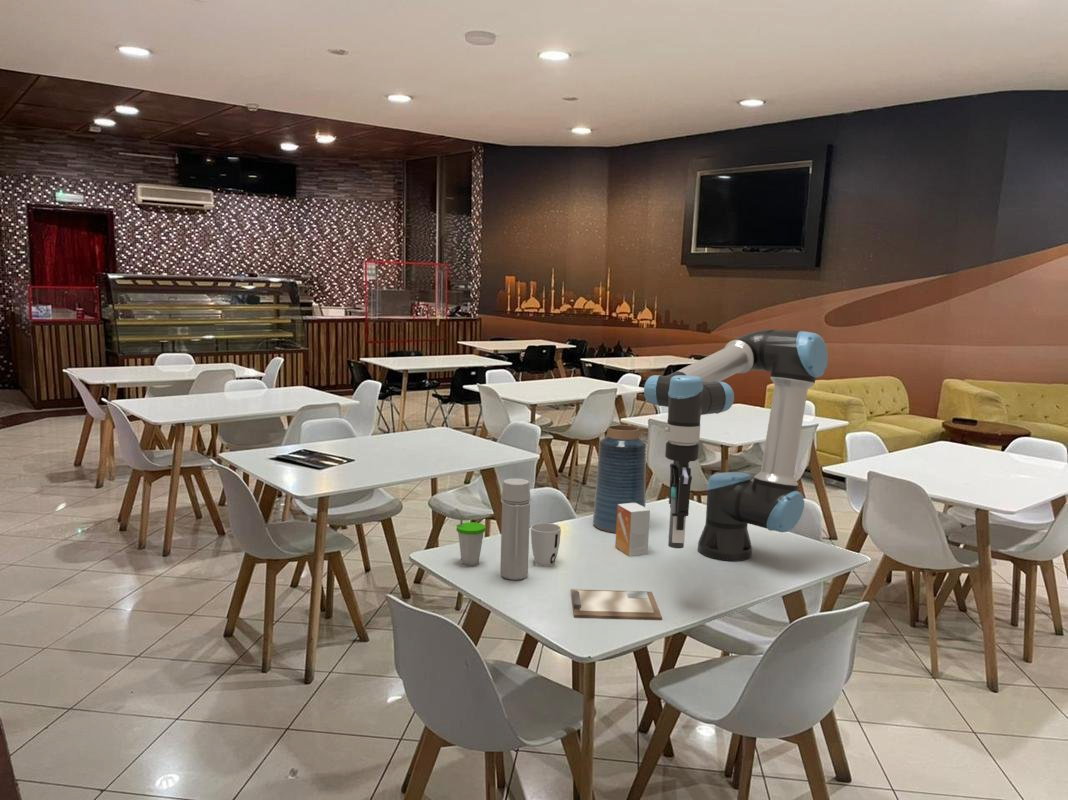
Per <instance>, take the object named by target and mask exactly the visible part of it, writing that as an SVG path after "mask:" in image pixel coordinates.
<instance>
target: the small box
mask: <svg viewBox="0 0 1068 800" xmlns="http://www.w3.org/2000/svg"><path fill="white" fill-rule="evenodd" d="M650 512H651V510H650V509H648V508H647V507H646V506H645V507H643V506H641V505H639V504H637V503H625V504H618V505H617V524H616V533H615V543H614V544H615V548H616V549H618V550H620V551H621V552H623V553H624V554H625V555H627V556H628V557H634V556H643V555H648V554H649V535H650V534H649V533H650V515H651V513H650Z"/></svg>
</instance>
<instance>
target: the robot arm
mask: <svg viewBox="0 0 1068 800" xmlns="http://www.w3.org/2000/svg"><path fill="white" fill-rule="evenodd" d="M828 353H829V352H828V348H827V345H826V342H825V340H824V338H823V337H822V336H821V335H819V334H818V333H815V332H810V331H805V330H804V331H802V330H785V329H784V330H783V329H781V330H779V329H778V330H777V329H770V328H769V329H761V330H757V331H753V332H750V333H747V334H743V335H742V336H738V337H736V338H734V339H732V340H730V341H729V342H727V343H726V344H725V346H724V347H723V348H722V349H720V350H718V351H716V352H714V353H712V354H710V355H707V356H706V357H703V358H702V359H699V360H697V361H695V362H693V363H691V364H689V365H687V366H685V367H682V368H681V369H679V370H676V371H675V372H673V373H670V374H668V375H662V374H659V375H658V374H657V375H656V374H655V375H651V376H649V377H648V378H647V379H646V381H645V383H644V387H643V393H644V398H645V400H646V402H648V403H649V404H651V405H656V406H658V407H665V408H668V409H667V422H666V423H667V427H664V432H666V440H667V442H666V443H665V454H664V455H665V456H664V457H666V459H668V460H670V461H673V463H670V464H669V470H670V471H669V472H670V477H669V479H670V480H669V492H668V493H669V495H668V496H669V498H668V504H669V507H670V509H671V487H676V498H675V513H672V516H674V519H673V535H672V542H673V543H684V544H685V537H686V519H687V517H689V509H690V498H691V496H690V495H691V484H692V479H693V477H692V475H691V473H692V469H691V467H690V466H689V463H690V462H695V461H697V460H698V459H699V451H700V450H699V449H700V448H699V447H700V446H699V444H698V443H699V442H700V434H701V419H702V418H701V416H704V415H712V414H713V415H714V414H720V413H723V412H727V411H729V410H730V409H731V407H732V406H733V404H734V402H735V401H734V400H735V393H734V390H733V387H731V386H730V385H729V384H728V383H727V382H724V380H726V379H728V378H730V377H732V376H733V375H736V374H745V373H748V372H750V371H761V372H762V371H763V372H770V377H769V378H770V379H771V381H772V383H773V384H774V386H773V387H774V388H773V394H772V400H771V406H770V412H769V419H768V423H767V425H768V426H767V431H766V437H765V438H766V439H765V444H764V451H763V454H762V463H761V467H760V471H759V472H758V473H757V474H755V475H754V476H753V480H752V476H751V474H750V473H748V472H740V471H739V472H738V471H737V472H736V471H729V472H728V471H727V472H718V473H714V474H712V475H710V476H709V479H708V483H707V489H706V491H707V494H706V496H707V497H706V509H705V510H706V512H705V514H706V515H705V524H704V527H703V529H702V531H701V534H700V536H699V540H698V541H697V551H698V552H699V553H700V554H701V555H704V556H706V557H708V558H711V559H715V560H719V559H720V560H721V561H734V562H735V560H739V561H744V559H745V560H747V559H750V558H751V557H752V556H753V555H752V554H753V546H752V542H751V538H750V534H749V530H748V524H749V525H752V526H756V527H759V528H764V529H766V530H768V531H770V532H771V531H774V532H778V533H786V532H789V531H792V529H794V528H795V527H796V525H797V524H798V523H799V522H800V520H801V517H802V515H803V512H804V510H805V509H804V508H805V500H804V498H805V497H804V494H803V493H802V492H800V491H798V490H799V488H798V487H799V483H798V482H797V480H796V478H795V477H794V475H795V471H796V464H797V459H798V452H799V446H800V445H799V444H800V439H801V433H802V427H803V421H804V415H805V409H806V403H807V396H808V392H809V391H808V390H809V389H810V388H812V387H813V386H814V385H815V383H816V380H817V379H816V378H819V377H822V376H823V375H824V374H825V371H826V370H827V367H828V362H829V361H828V359H829V357H828V356H829V355H828ZM669 526H670V524H669ZM669 526H668V527H669Z"/></svg>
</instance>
